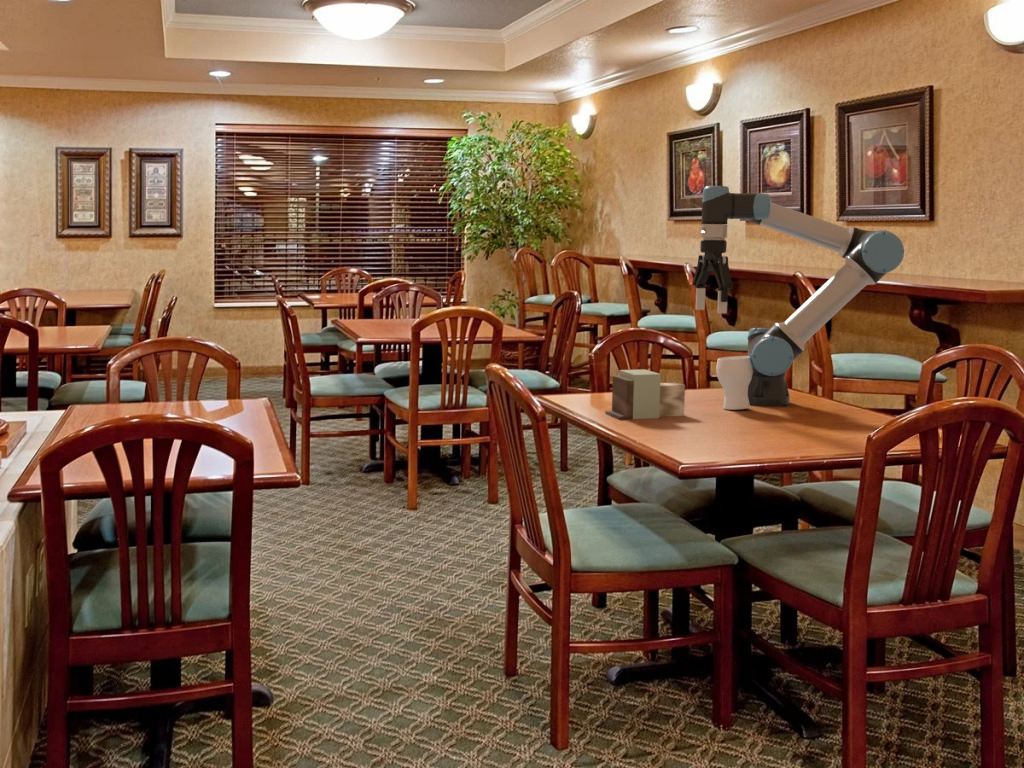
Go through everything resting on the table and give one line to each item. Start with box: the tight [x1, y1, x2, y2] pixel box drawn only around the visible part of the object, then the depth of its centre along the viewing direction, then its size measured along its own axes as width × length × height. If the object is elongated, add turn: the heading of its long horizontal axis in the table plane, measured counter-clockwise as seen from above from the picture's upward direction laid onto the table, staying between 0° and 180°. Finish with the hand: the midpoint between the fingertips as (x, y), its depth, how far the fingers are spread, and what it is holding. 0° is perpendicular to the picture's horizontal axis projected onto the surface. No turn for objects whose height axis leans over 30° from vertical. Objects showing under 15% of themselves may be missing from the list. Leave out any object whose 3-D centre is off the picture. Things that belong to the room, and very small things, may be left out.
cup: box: [715, 355, 753, 411], centre depth 316 cm, size 11×11×15 cm
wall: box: [604, 375, 634, 421], centre depth 299 cm, size 4×10×11 cm, turn 18°
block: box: [618, 368, 662, 420], centre depth 301 cm, size 8×10×12 cm
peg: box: [659, 382, 686, 418], centre depth 303 cm, size 14×5×9 cm, turn 108°
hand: (710, 311), depth 315 cm, fingers open, 13 cm apart
